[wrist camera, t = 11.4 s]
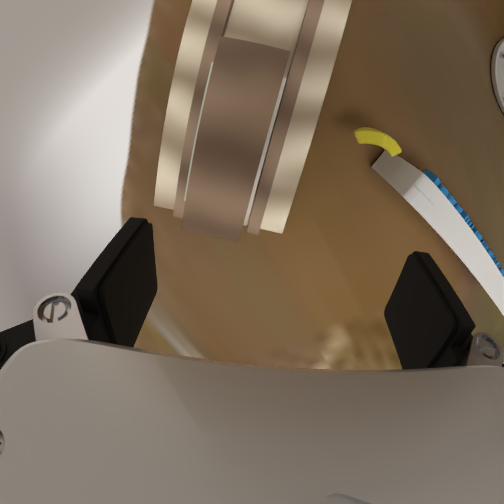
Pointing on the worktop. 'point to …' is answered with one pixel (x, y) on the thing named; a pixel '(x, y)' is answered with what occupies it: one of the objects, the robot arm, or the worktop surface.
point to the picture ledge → (291, 104)
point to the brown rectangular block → (232, 136)
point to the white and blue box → (437, 211)
